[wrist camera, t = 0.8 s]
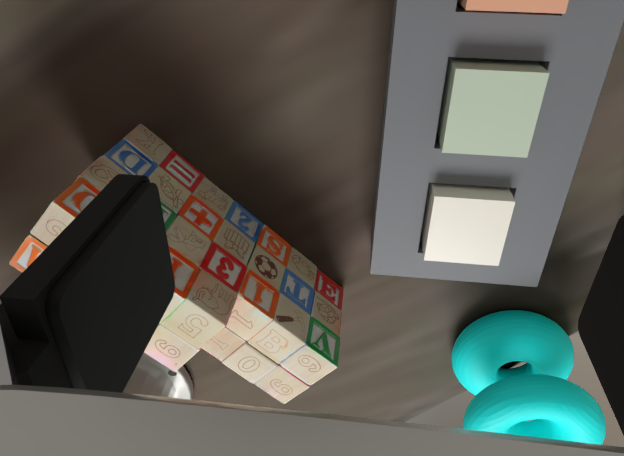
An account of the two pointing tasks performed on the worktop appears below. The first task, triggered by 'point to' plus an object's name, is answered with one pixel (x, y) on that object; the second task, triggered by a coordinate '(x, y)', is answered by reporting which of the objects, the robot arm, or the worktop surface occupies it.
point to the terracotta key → (517, 5)
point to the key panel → (483, 168)
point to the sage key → (490, 106)
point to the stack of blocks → (217, 274)
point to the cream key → (466, 223)
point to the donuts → (524, 379)
